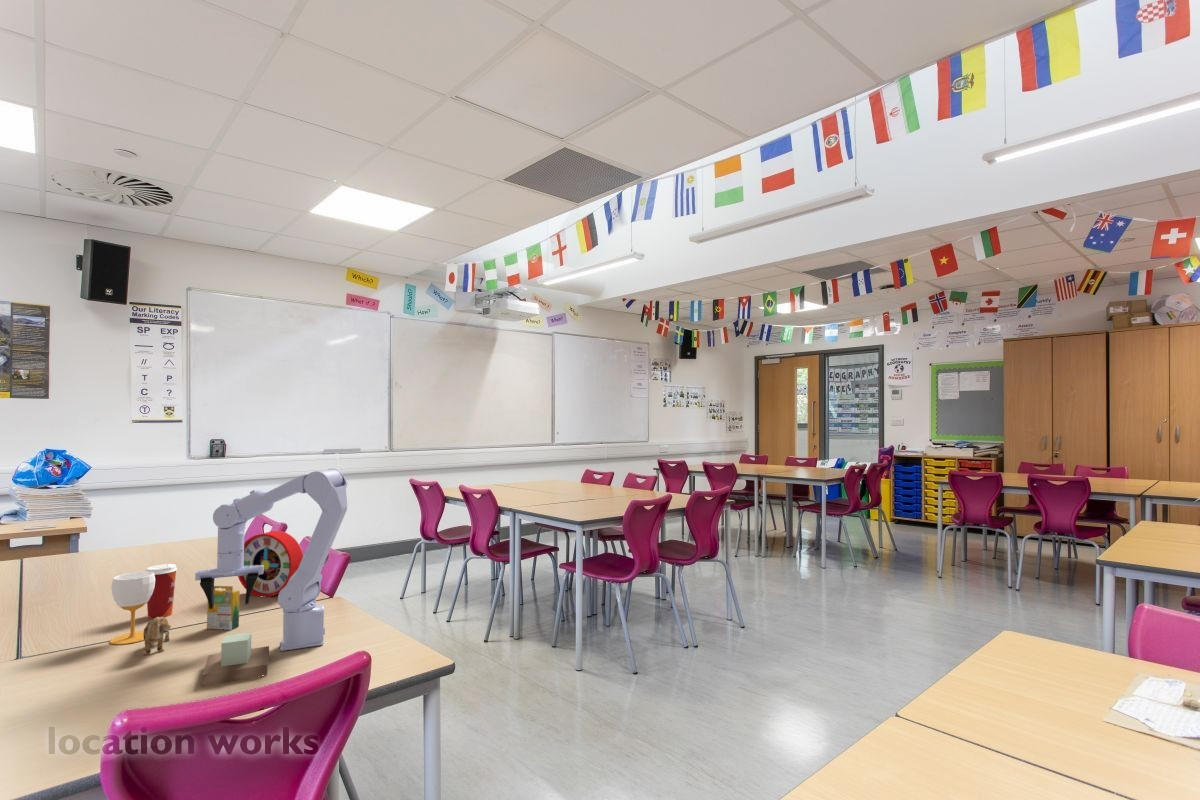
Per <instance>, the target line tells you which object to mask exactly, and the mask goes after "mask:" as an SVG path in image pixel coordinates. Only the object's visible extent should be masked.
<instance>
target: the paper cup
mask: <svg viewBox="0 0 1200 800" xmlns="http://www.w3.org/2000/svg"><path fill="white" fill-rule="evenodd" d="M177 570H178V568H177V565H176V564H174V563H163V564H156V565H152V566H148V567H146V570H145V572H153V573H154V574H155V587H154V590H153V593H152V595H151V597H150V599H149V601H148V602H147V603H146V608H147V609H146V610H147V617H148V619H150V620H152V619H153V618H156V617H164V618H167V617H169V616H171V615H172V614H173V609H174V608H173V607H174V598H175V588H176V576H177Z"/></svg>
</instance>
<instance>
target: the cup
mask: <svg viewBox="0 0 1200 800" xmlns="http://www.w3.org/2000/svg"><path fill="white" fill-rule="evenodd" d="M154 587H155V574H154V573H153V572H146V571H134V572H129V573H123V574H119V575H116V576H114V577H113V578H112V581H111V595H112V597H113V601H114V603H115V604H116V605H117V606H118V607H119V608H121V609H122V610H124V611H129V612H130V632H129V633H123V634H121V635H117V636H115V637H113V638H111V639H110V640H109V644H110V645H114V646H115V645H116V646H117V645H118V646H122V645H131V644H136V643H141V642H143V641H144V642H145V640H144V635H143V633H144V630H142V631H141V630H140V631H136V630H135V624H136V611H137V610H138V609H140V608H143V607H144V606H145V605H147V602H148V601H149V599H150V597H151V595H152V593H153V590H154Z"/></svg>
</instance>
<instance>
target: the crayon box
mask: <svg viewBox="0 0 1200 800" xmlns="http://www.w3.org/2000/svg"><path fill="white" fill-rule="evenodd" d="M233 588H234V587H233V585H231V586H230V585H229V586H228V585H214V607H213V609H209V604H208V603H207V608H206V610H207V611H206V612H207V613H206V629H207V630H223V629H224V630H228V631H232V630H234V629H237V628H238V627H239V625H240V594H241V593H240V592H241V591H240V590H233ZM221 589H223V590H221ZM224 589H225V590H224Z"/></svg>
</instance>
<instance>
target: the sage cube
mask: <svg viewBox="0 0 1200 800" xmlns="http://www.w3.org/2000/svg"><path fill="white" fill-rule="evenodd" d="M220 645H221V646H220V647H221V649H220V650H221V652H220V653H221V666H228V665H236V664H243V663H248V660H249V658H250V656H251V649H252V632H245V633H237V634H236V633H235V634H228V635H225V636H224V637H223V640H222V642H221V644H220Z"/></svg>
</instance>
